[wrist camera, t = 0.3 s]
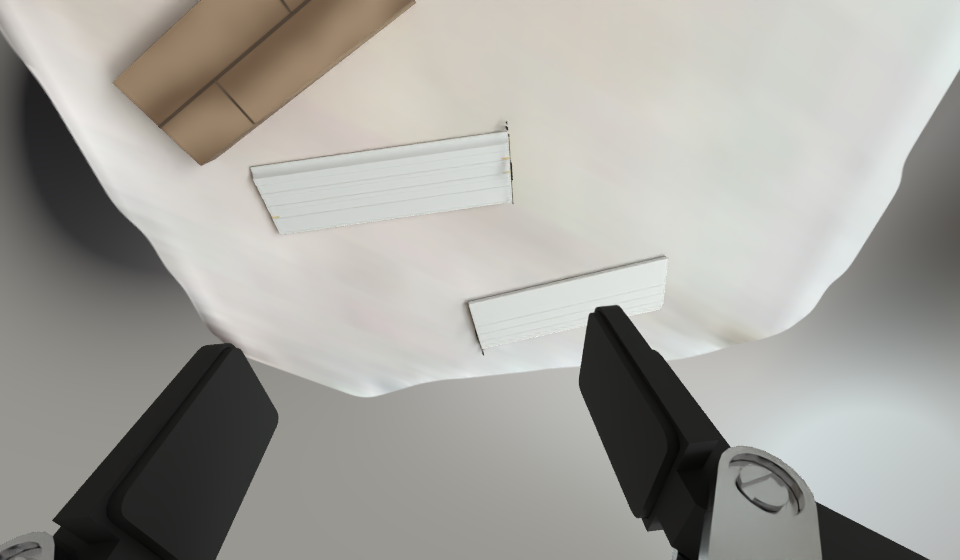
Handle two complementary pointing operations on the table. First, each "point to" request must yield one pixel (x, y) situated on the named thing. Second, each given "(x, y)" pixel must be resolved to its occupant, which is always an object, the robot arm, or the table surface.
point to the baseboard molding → (568, 302)
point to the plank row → (244, 64)
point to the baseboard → (386, 183)
